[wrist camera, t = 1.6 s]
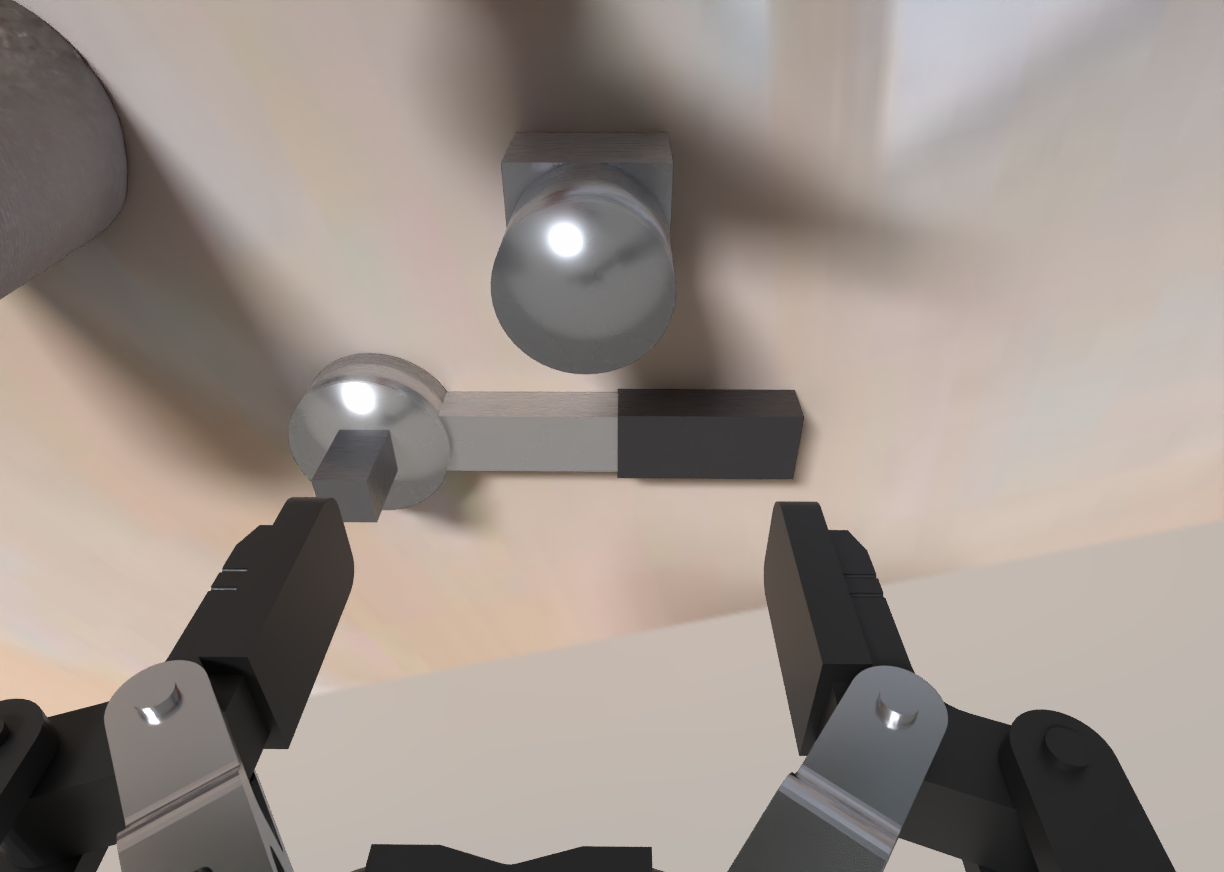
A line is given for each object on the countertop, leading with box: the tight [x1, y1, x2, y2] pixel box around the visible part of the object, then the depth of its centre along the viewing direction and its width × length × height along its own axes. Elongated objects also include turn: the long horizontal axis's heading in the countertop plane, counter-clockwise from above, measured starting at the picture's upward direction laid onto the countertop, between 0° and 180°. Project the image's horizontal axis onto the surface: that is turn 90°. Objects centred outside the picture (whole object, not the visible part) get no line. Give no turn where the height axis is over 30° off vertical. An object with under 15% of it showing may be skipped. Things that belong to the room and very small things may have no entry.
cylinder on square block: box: [491, 132, 676, 374], centre depth 26 cm, size 6×6×8 cm
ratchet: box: [288, 353, 804, 522], centre depth 32 cm, size 22×7×6 cm, turn 90°
